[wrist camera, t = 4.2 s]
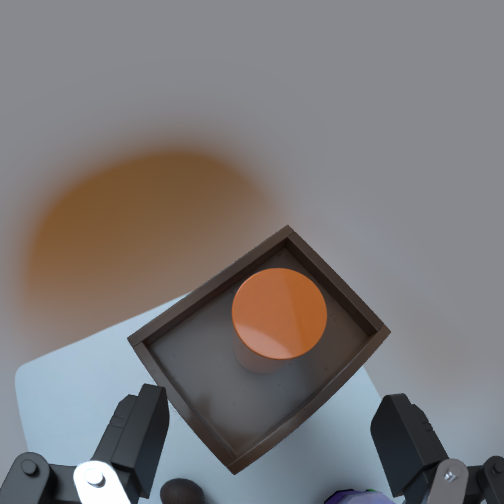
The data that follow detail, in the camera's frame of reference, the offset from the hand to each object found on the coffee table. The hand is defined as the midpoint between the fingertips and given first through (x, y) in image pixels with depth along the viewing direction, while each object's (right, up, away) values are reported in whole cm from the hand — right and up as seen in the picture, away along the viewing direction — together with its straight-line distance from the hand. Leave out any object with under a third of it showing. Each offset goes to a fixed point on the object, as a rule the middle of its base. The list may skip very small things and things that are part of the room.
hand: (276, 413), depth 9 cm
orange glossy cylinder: (0, -1, +10) cm, 10 cm away
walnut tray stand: (-1, -8, +24) cm, 26 cm away
